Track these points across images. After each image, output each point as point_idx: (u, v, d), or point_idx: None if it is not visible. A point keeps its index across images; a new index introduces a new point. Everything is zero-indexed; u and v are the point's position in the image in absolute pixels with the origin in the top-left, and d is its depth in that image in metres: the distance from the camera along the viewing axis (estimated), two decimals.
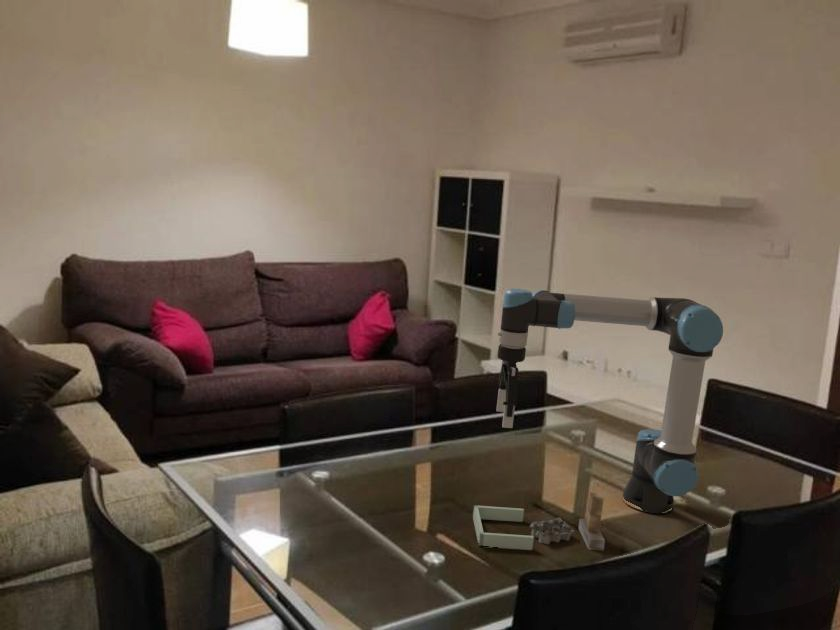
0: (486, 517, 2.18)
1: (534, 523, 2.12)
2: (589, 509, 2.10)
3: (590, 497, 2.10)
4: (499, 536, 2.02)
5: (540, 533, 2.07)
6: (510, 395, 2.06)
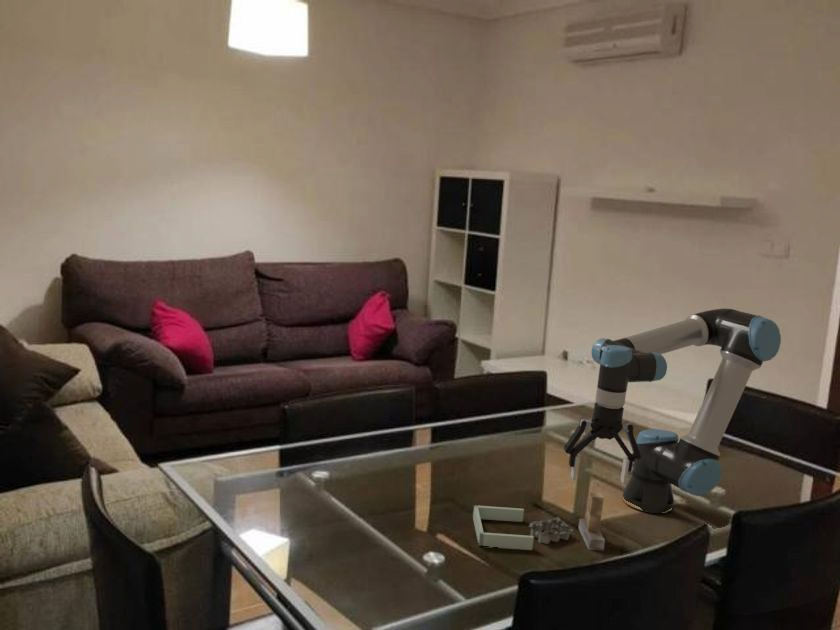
0: (486, 517, 2.18)
1: (533, 523, 2.12)
2: (589, 509, 2.10)
3: (590, 497, 2.10)
4: (499, 536, 2.02)
5: (540, 533, 2.07)
6: (568, 442, 2.06)
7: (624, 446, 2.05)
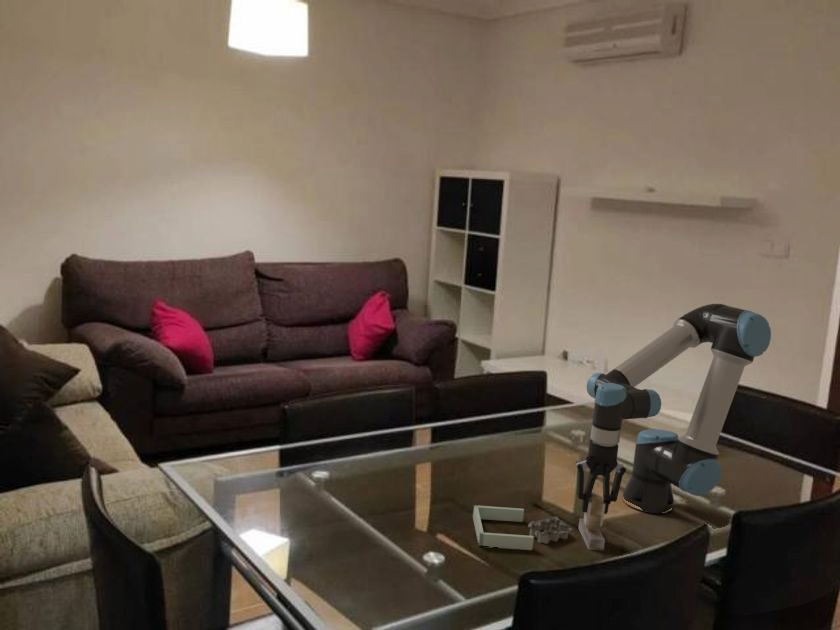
0: (486, 517, 2.18)
1: (532, 523, 2.12)
2: None
3: (590, 497, 2.10)
4: (499, 536, 2.02)
5: (539, 533, 2.07)
6: (577, 488, 2.09)
7: (608, 487, 2.07)
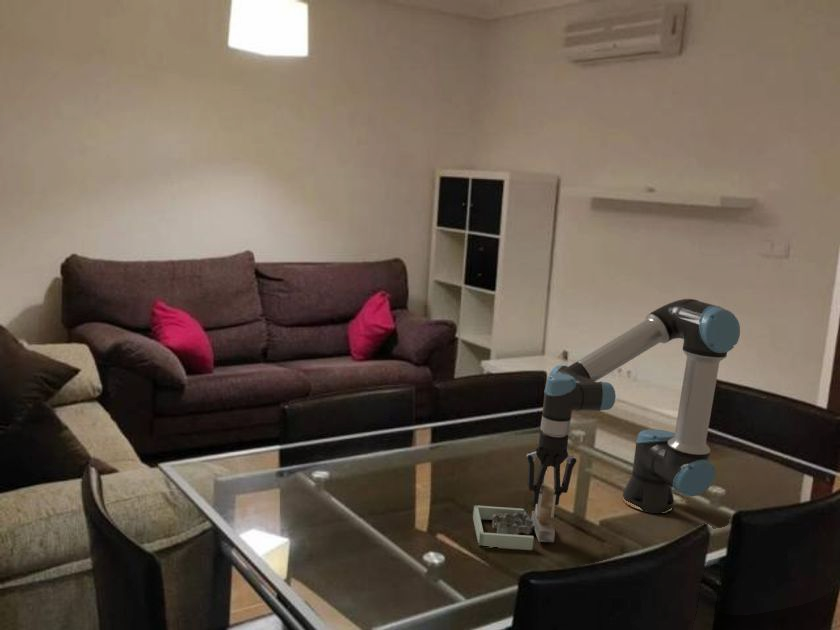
0: (486, 517, 2.18)
1: (497, 514, 2.15)
2: None
3: (541, 489, 2.09)
4: (499, 536, 2.02)
5: (498, 524, 2.10)
6: (528, 479, 2.08)
7: (558, 478, 2.07)
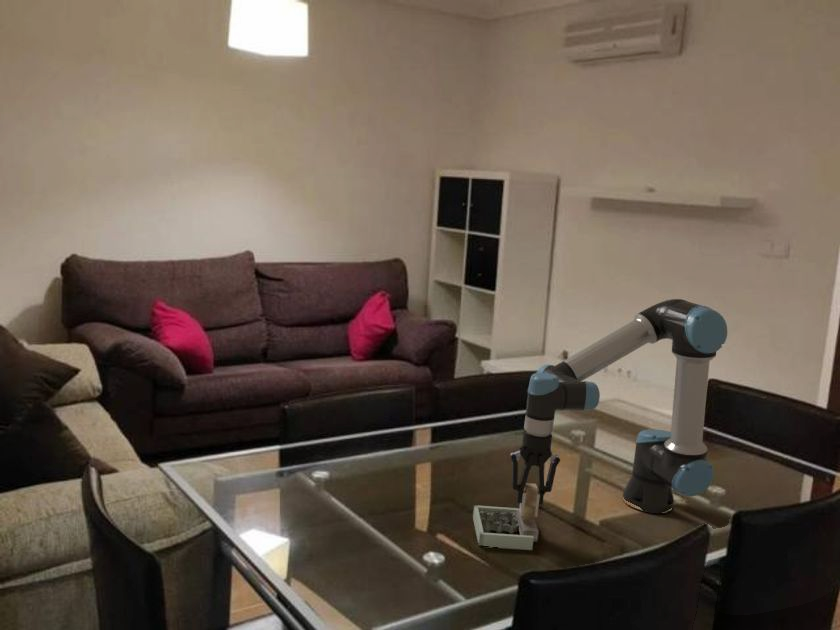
0: None
1: (485, 511, 2.17)
2: None
3: (525, 488, 2.09)
4: (499, 536, 2.02)
5: (481, 519, 2.12)
6: (512, 478, 2.08)
7: (542, 477, 2.06)
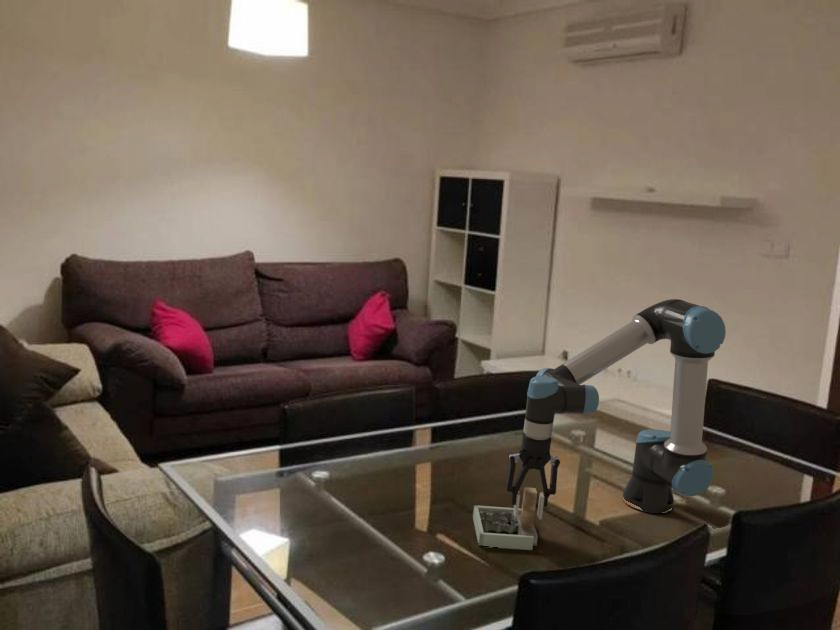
0: None
1: (484, 511, 2.17)
2: (523, 504, 2.09)
3: (524, 492, 2.09)
4: (499, 536, 2.02)
5: None
6: (507, 480, 2.08)
7: (544, 480, 2.07)
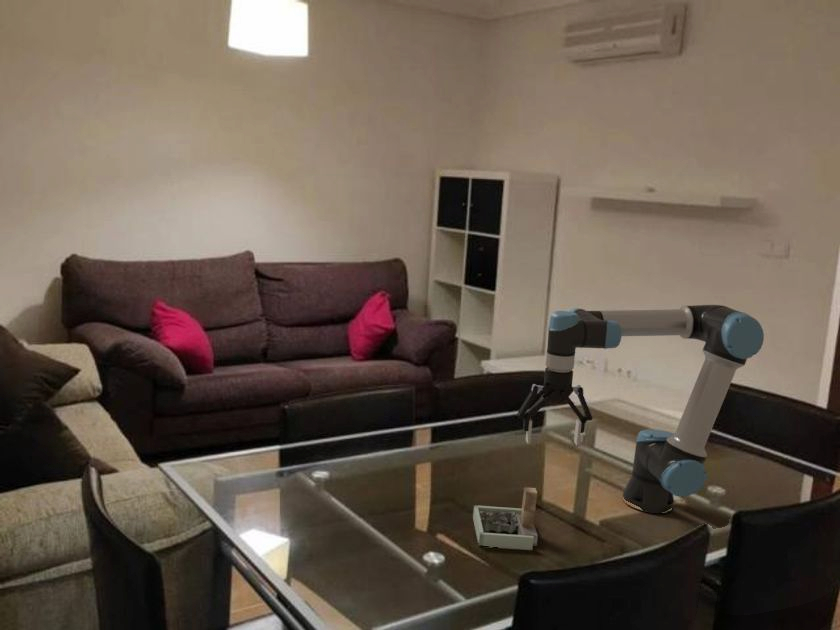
0: None
1: (484, 511, 2.17)
2: (523, 504, 2.09)
3: (524, 492, 2.09)
4: (499, 536, 2.02)
5: None
6: (521, 407, 2.12)
7: (575, 408, 2.11)
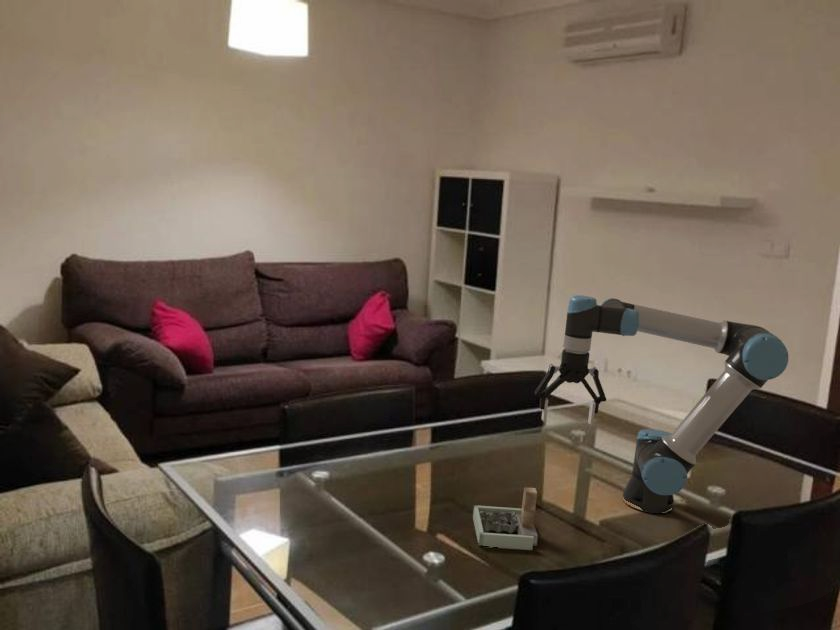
0: None
1: (484, 511, 2.17)
2: (523, 504, 2.09)
3: (524, 492, 2.09)
4: (499, 536, 2.02)
5: None
6: (538, 386, 2.22)
7: (590, 389, 2.21)
